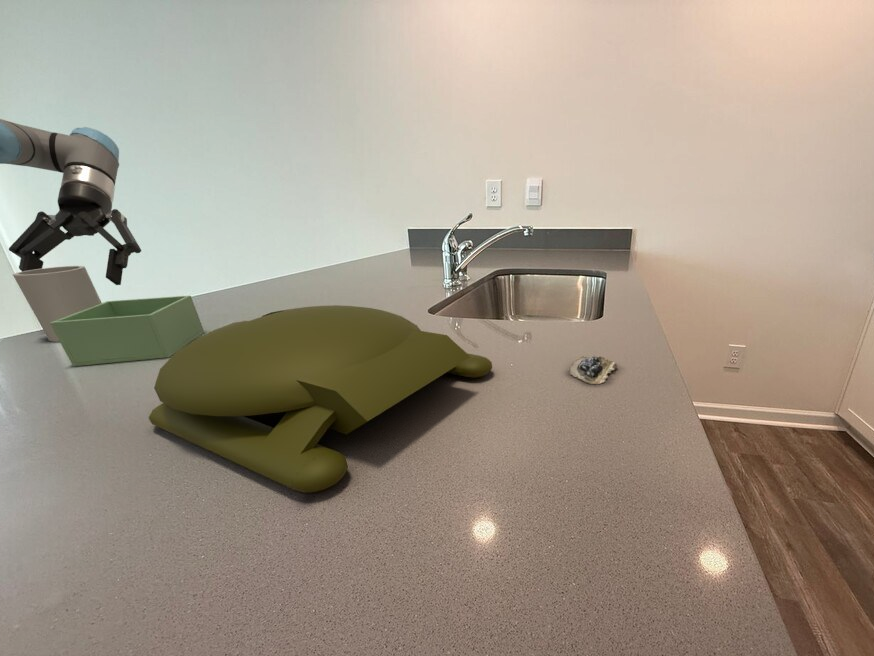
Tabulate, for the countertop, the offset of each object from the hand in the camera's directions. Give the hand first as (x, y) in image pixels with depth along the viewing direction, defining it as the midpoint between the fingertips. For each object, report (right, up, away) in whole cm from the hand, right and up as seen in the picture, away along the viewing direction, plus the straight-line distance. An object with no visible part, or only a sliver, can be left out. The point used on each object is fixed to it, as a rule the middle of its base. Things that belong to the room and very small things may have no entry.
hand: (71, 284), depth 77 cm
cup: (+1, -10, +1) cm, 10 cm away
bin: (+20, -13, -7) cm, 25 cm away
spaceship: (+60, -20, -24) cm, 67 cm away
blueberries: (+95, -18, -20) cm, 99 cm away
